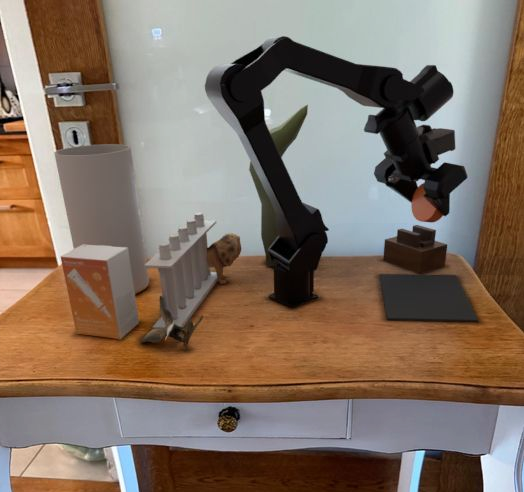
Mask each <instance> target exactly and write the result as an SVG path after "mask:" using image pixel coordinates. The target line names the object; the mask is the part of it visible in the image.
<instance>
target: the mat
mask: <svg viewBox="0 0 524 492" xmlns="http://www.w3.org/2000/svg"><path fill="white" fill-rule="evenodd" d="M379 279H380V285H381V292H382V299H383V305H384V312H385V318H386V321H405V322H406V321H407V322H408V321H410V322H411V321H412V322H413V321H415V322H451V323H452V322H453V323H454V322H457V323H460V322H461V323H479V319H478V316H477V314H476V312H475V310H474V308H473V307H472V305H471V303H470V300H469V298H468V296H467V295H466V293H465V291H464V288H463V287H462V284H461V283H460V281H459V278H458V277H457V275H456V274H419V273H415V274H413V273H411V274H409V273H407V274H405V273H404V274H403V273H380V274H379Z"/></svg>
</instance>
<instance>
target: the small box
mask: <svg viewBox="0 0 524 492" xmlns="http://www.w3.org/2000/svg"><path fill="white" fill-rule="evenodd" d="M60 261H61V262H60V263H61V266H62V270H63V276H64V281H65V283H66V284H65V285H66V290H67V294H68V300H69V304H70V309H71V314H72V319H73V324H74V327H75V328H74V329H75V333H76V335H85V336H86V335H87V336H92V337H93V336H94V337H101V338H102V337H103V338H108V339H115V340H121V339H123V338H124V337H125V336H126V335H127V334H128V333H130V332H131V331H132V330H134V328H135V327H137V326H138V325H139V324H140V319H139V312H138V304H137V299H136V298H137V297H136V294H135V291H134V285H133V278H132V272H131V265H130V259H129V252H128V248H127V247H113V246H104V245H99V246H98V245H85V244H84V245H81V246H79V247H77V248H75V249H74V248H73V249H71V250H69V251H68V252H66V253H64V254H62V255H61V256H60Z"/></svg>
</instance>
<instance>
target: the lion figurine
mask: <svg viewBox="0 0 524 492" xmlns="http://www.w3.org/2000/svg"><path fill="white" fill-rule="evenodd" d="M206 249H207V257H206V261H207V265H208V268H210V269H211V268H214V269H215V272H216V275H217V279H218V281H217V282H218V283H219V284H221V285H224V284H226V280H225V275H224V268H227V267H231V266H232V265H233V264H234V261H236V260H237V259H238V258H239V257H240V256H241V253H242V244H241V237H240V236H239V235H238V234H236V233H233V232H228V233H226V234H224V235H222V237H221V238H220V239H219V240H216V241H214V242H213V243H212V244H210V245H209V246H208V248H206Z"/></svg>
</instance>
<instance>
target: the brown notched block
mask: <svg viewBox="0 0 524 492" xmlns="http://www.w3.org/2000/svg"><path fill="white" fill-rule="evenodd" d="M436 234H437V229H433V228H429V227H427V226H423V225H419V224H415V225H412V231H411V230H408V229H405V228H398V229H397V232H396V236H393V237H389V238H385V239H384V245H383V260H382V261H383V262H386V263H389V264H391V265H393V266H397V267H400V268H403V269H406V270H408V271H410V272H411V271H412V272H413V273H415V274H419V275H422V274H424V273H427V272H431V271H433V270H438V269H440V268H444V267H446V260H447V253H448V243H445V242H442V241H437V240H436Z"/></svg>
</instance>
